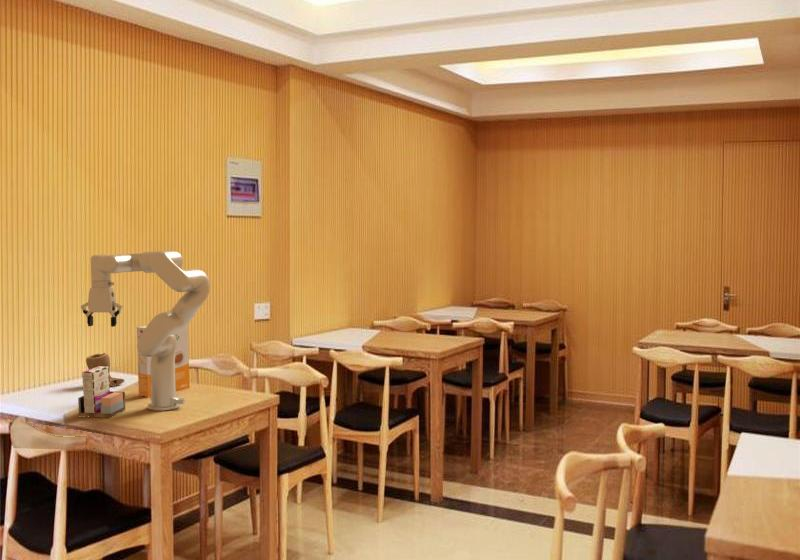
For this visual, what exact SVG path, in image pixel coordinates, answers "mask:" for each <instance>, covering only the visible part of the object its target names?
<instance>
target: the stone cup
mask: <svg viewBox="0 0 800 560" xmlns="http://www.w3.org/2000/svg"><path fill="white" fill-rule="evenodd" d="M85 363H86V367H87V368H88V369H87V370H90V369H92V368H95V367H98V366H104V367H109V387H117V386H119V385H122V384H123V383H125V379H124V378H117V377H113V376H111V374H110V370H111V359H110V356H109V354H108V353H107V352H104V353H95V354H92V355H88V356H87V357H86V359H85Z"/></svg>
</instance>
